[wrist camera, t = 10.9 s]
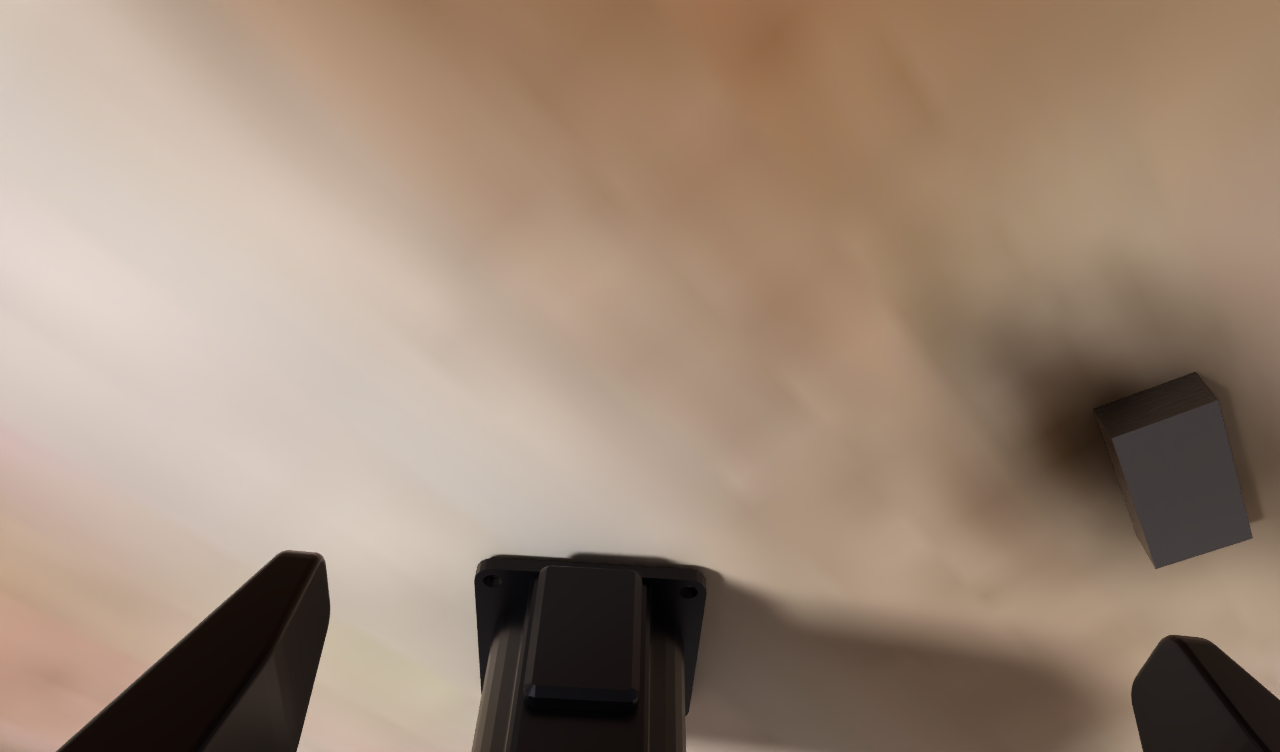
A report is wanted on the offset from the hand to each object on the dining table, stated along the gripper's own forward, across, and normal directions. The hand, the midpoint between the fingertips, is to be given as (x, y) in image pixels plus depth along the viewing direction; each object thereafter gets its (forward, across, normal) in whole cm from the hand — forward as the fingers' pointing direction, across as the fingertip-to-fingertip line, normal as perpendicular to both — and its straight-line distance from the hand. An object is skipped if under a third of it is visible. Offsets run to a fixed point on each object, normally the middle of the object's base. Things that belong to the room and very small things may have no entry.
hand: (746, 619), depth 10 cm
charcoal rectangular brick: (+12, -13, +6) cm, 19 cm away
